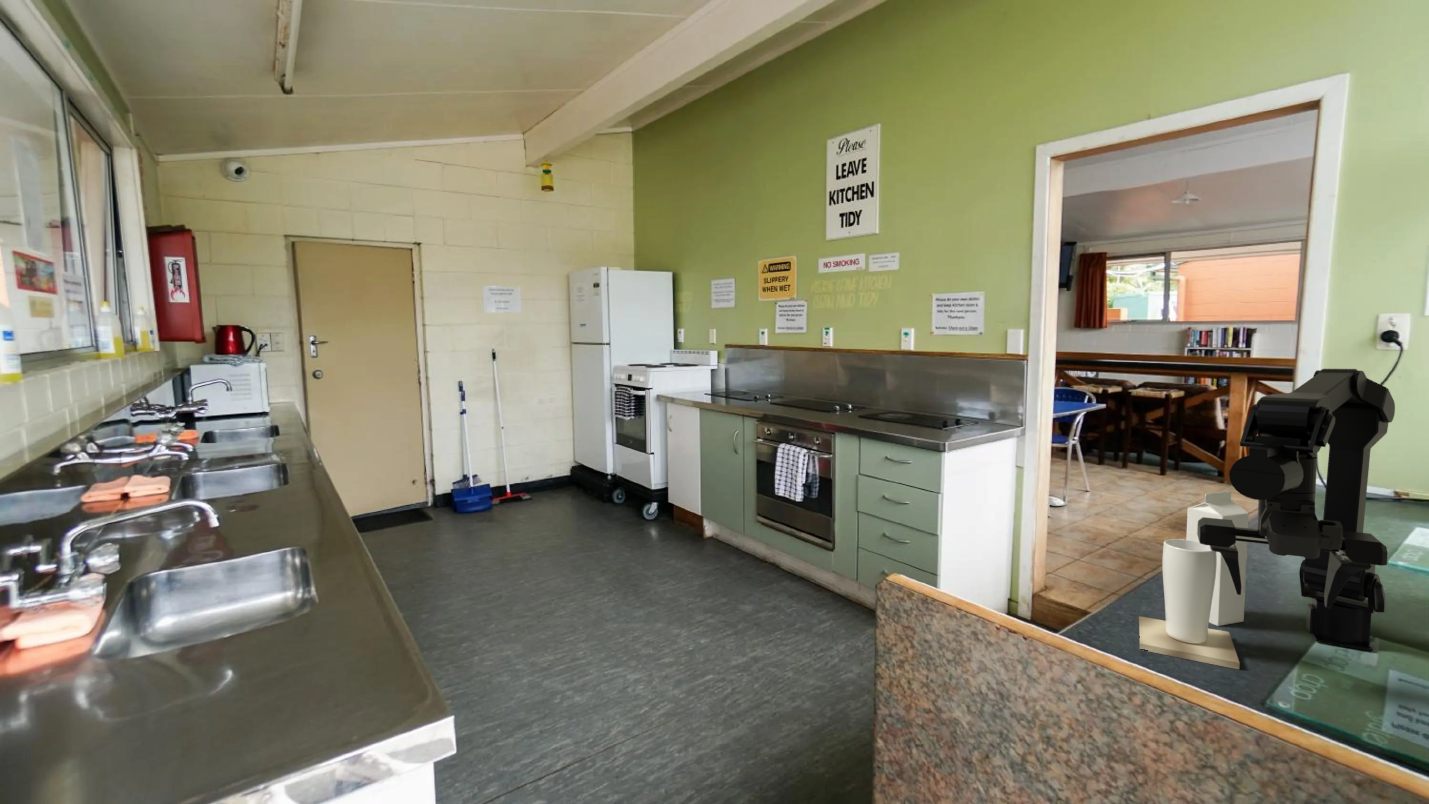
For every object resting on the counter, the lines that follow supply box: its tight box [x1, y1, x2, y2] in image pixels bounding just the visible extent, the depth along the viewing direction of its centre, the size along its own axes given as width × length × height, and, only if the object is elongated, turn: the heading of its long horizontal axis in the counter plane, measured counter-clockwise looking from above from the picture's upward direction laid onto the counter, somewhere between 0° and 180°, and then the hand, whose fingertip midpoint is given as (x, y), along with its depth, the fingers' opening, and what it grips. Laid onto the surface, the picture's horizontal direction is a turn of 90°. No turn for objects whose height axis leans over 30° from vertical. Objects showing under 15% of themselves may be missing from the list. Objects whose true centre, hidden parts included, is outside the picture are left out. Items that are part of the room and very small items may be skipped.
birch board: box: [1138, 616, 1241, 670], centre depth 100 cm, size 12×12×1 cm
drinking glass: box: [1161, 538, 1217, 644], centre depth 99 cm, size 7×7×15 cm
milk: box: [1185, 490, 1250, 627], centre depth 109 cm, size 6×6×22 cm
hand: (1281, 600), depth 87 cm, fingers open, 9 cm apart
